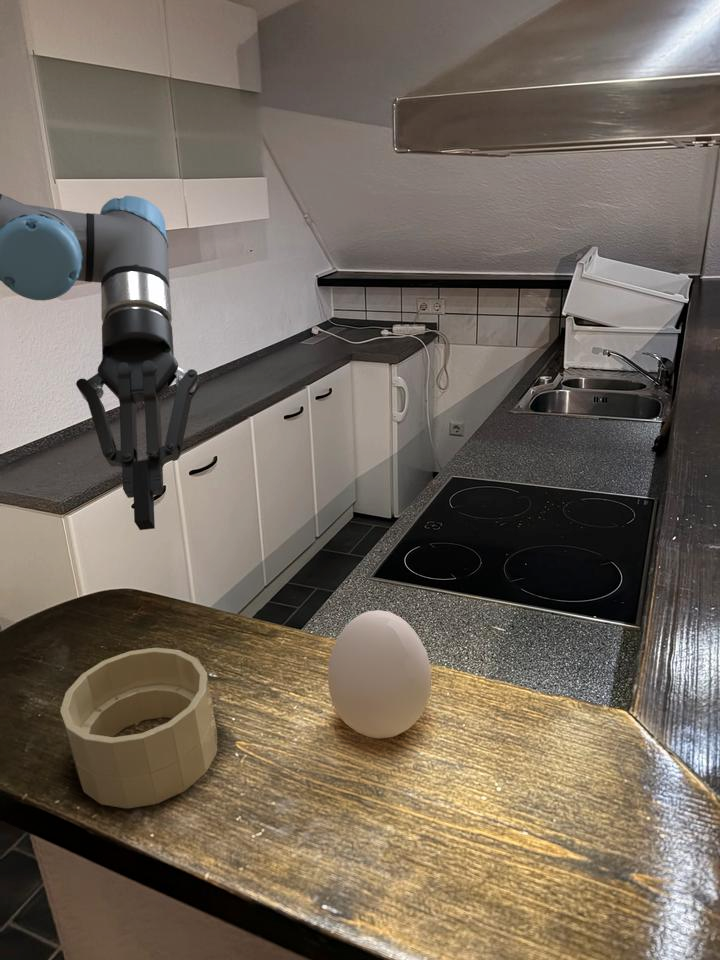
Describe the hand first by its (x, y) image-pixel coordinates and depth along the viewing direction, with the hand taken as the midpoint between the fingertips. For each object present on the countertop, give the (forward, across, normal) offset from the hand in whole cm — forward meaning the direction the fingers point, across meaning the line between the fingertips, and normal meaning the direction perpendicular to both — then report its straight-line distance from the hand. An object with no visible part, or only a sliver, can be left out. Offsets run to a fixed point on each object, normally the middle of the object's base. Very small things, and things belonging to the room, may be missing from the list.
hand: (144, 525), depth 76 cm
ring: (+23, -1, +5) cm, 23 cm away
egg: (+23, -20, +5) cm, 31 cm away
